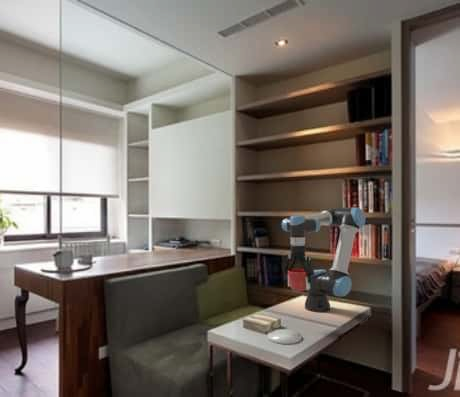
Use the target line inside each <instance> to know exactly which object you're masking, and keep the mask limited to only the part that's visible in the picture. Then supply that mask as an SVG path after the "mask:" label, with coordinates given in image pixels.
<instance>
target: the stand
mask: <svg viewBox="0 0 460 397" xmlns="http://www.w3.org/2000/svg"><path fill="white" fill-rule="evenodd" d="M281 326H282V318H281V317H278V316H274V315H273V316H272V315H268V314H265V313H260V312H259V313H256V314H254V315H251V316H249V317H246V318H244V319H242V327H243V329H244V328H245V329H248V330H251V331H255V332H258V333H261V334H268V333H269V332H271V331H273V330H277V329H278V328H279V327H281Z"/></svg>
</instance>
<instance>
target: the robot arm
mask: <svg viewBox="0 0 460 397" xmlns="http://www.w3.org/2000/svg"><path fill="white" fill-rule="evenodd" d="M365 225H366V215H365V212H364V210H363V209H362V208H360V207H354V206H353V207H335V208H330V209H327V210H323V211H321V212H320V213H315V214H314V213H313V214H310V215H292V216H290V217H287V218H284V219H283V220H282V222H281V228H282V229H283V231H285V232H290V253H289V254H286V255H285V262H284V266H283V269H282V272H283V273H285V274H286V280H287V287H288V288H291V285H290V280H289V275H288V270H289V271H291V270H292V269H293V268H294V266H295V265H296V264H300V265H301V267H302V269H303V270H304V271H305V272H306V275H307V277H306V290H305V291H307V293H306V294H307V295H306V298H305V301H304V309H306V310H307V311H311V312H318V313H319V312H320V313H321V312H322V313H323V312H329V311H331V304H330V300H329V297H328V295H333V296H336V297H341V298H342V297H346V296H347V295H348V294H349V293H350V292H351V290H352V286H353V283H352V279H351V278H350V274H349V272H348V269H349V266H350V261H351V256H352V252H353V248H354V247H353V246H354V242H355V237H356V234H357V233H358V232H360V228H363V227H364V226H365ZM322 226H327V227H328V226H336V227H339V229H340V232H339V237H338V241H337V246H336V250H335V254H334V259H333V263H332V267H331V268H329V269H328V272H327V269H314V266H313V263H312V256H311V255H310V256H307V255H306V246H305V244H306V234H311V233H317V232H319V231H320V229H321V227H322Z"/></svg>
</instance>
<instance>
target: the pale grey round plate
mask: <svg viewBox="0 0 460 397" xmlns="http://www.w3.org/2000/svg"><path fill="white" fill-rule="evenodd" d="M302 336H303V335H302V334H301V333H300V332H298V331H295V330H291V329H284V328H283V329H282V328H281V329H274V330H272V331H270V332H268V333H267V339H268V341H271V342H272V343H276V344H279V345H280V344H281V345H293V344H294V345H295V344H298V343H299V342H301V341H302V340H303V338H302Z"/></svg>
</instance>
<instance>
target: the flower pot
mask: <svg viewBox="0 0 460 397" xmlns="http://www.w3.org/2000/svg"><path fill="white" fill-rule="evenodd" d="M288 275H289V280H290V285H291V286H290V289H291V290H292V291H296V292H298V291H299V292H303V291H307V290H306V277H307V275H306V272H305V271H304V269H303V268H302V269H301V268H300V269H299V268H294V269H293V268H292V270H291V271H289V270H288Z"/></svg>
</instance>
